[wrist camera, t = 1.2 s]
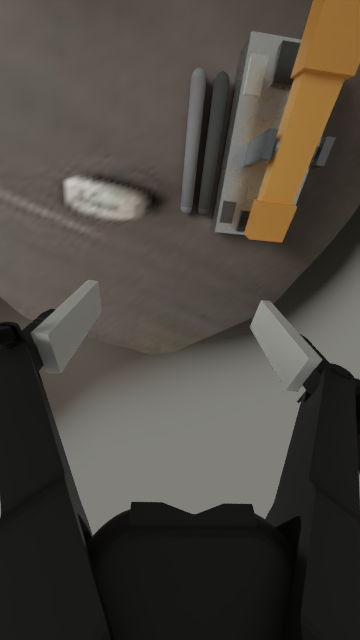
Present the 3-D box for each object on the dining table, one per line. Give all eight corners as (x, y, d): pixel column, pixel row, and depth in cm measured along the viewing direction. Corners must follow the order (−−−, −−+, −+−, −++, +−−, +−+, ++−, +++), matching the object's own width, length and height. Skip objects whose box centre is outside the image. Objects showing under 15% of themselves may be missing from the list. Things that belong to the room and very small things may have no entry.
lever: (315, -6, 16) (335, -31, 14) (368, 4, 16) (395, -19, 14) (243, 233, 28) (248, 239, 26) (274, 237, 28) (282, 242, 26)
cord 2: (214, 75, 24) (217, 66, 23) (229, 77, 24) (232, 68, 23) (196, 214, 33) (197, 215, 31) (207, 215, 33) (209, 216, 32)
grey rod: (191, 71, 24) (192, 62, 22) (206, 73, 24) (208, 65, 23) (180, 212, 33) (180, 213, 31) (191, 213, 33) (191, 214, 31)
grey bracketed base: (240, 54, 23) (281, -37, 14) (329, 69, 24) (423, -8, 15) (211, 228, 34) (223, 240, 25) (272, 234, 35) (306, 248, 26)
